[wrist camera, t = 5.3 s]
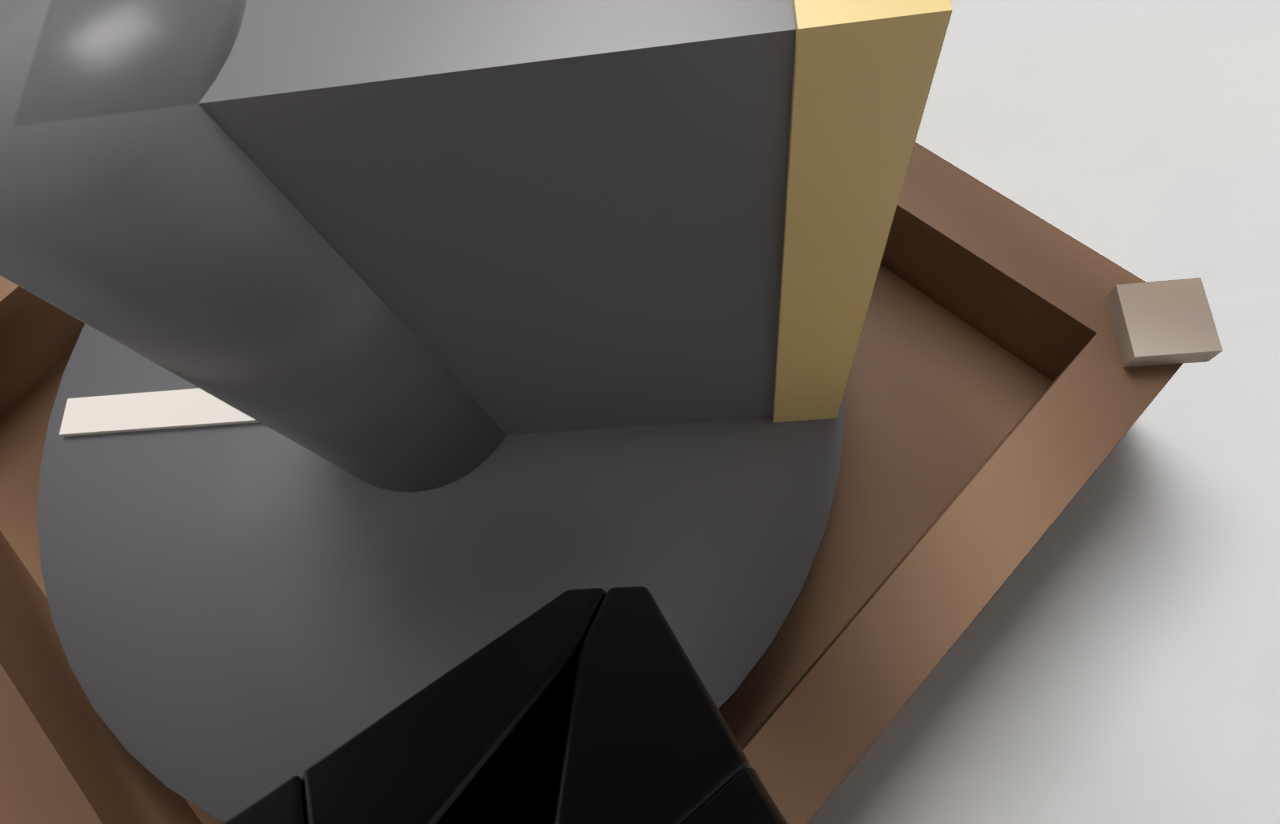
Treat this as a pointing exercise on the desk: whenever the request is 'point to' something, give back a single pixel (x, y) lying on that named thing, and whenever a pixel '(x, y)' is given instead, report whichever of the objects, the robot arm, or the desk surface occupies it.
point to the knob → (434, 334)
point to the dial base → (859, 516)
